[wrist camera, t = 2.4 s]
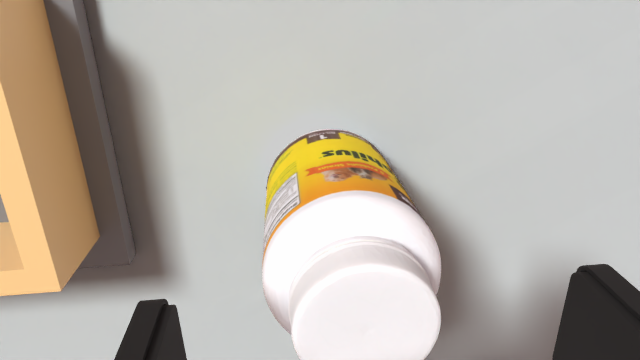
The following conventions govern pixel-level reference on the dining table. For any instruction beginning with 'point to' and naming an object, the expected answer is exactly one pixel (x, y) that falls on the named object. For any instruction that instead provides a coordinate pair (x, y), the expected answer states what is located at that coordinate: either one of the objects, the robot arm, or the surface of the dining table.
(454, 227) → the dining table surface
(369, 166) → the supplement bottle
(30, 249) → the block sorting tray
